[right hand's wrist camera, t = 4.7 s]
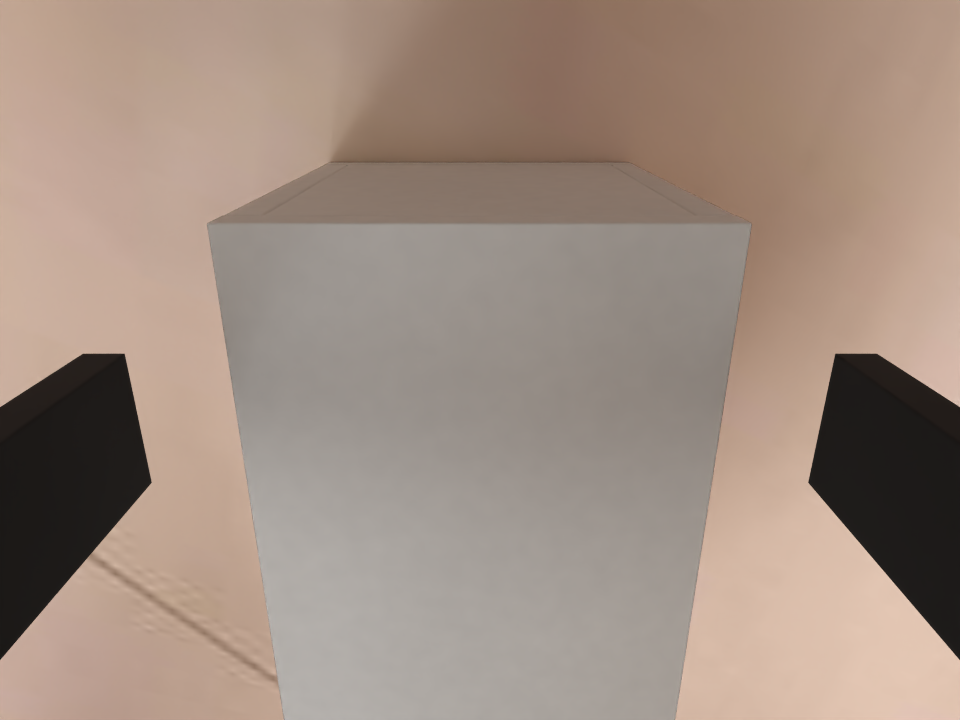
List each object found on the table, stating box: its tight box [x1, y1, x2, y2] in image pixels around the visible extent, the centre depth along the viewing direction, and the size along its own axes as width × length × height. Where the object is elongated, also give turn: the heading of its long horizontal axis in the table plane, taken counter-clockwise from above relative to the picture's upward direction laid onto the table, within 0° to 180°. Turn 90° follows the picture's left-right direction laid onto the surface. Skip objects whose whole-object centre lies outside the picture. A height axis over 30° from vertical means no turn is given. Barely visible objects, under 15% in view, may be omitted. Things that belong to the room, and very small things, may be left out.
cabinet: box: [207, 162, 752, 720], centre depth 22 cm, size 21×10×11 cm, turn 0°
